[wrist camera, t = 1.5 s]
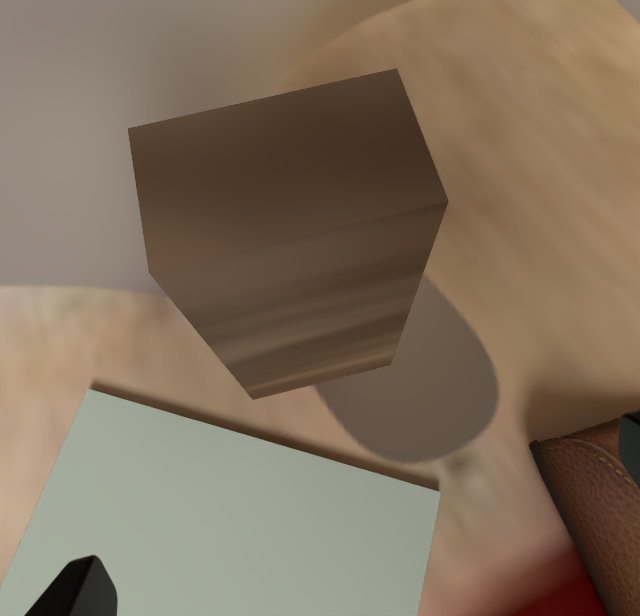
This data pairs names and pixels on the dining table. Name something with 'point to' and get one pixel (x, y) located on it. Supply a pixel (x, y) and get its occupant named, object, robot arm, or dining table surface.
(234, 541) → the mat
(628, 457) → the robot arm
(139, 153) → the brown wooden block
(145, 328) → the dining table surface
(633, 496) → the sunglasses case
